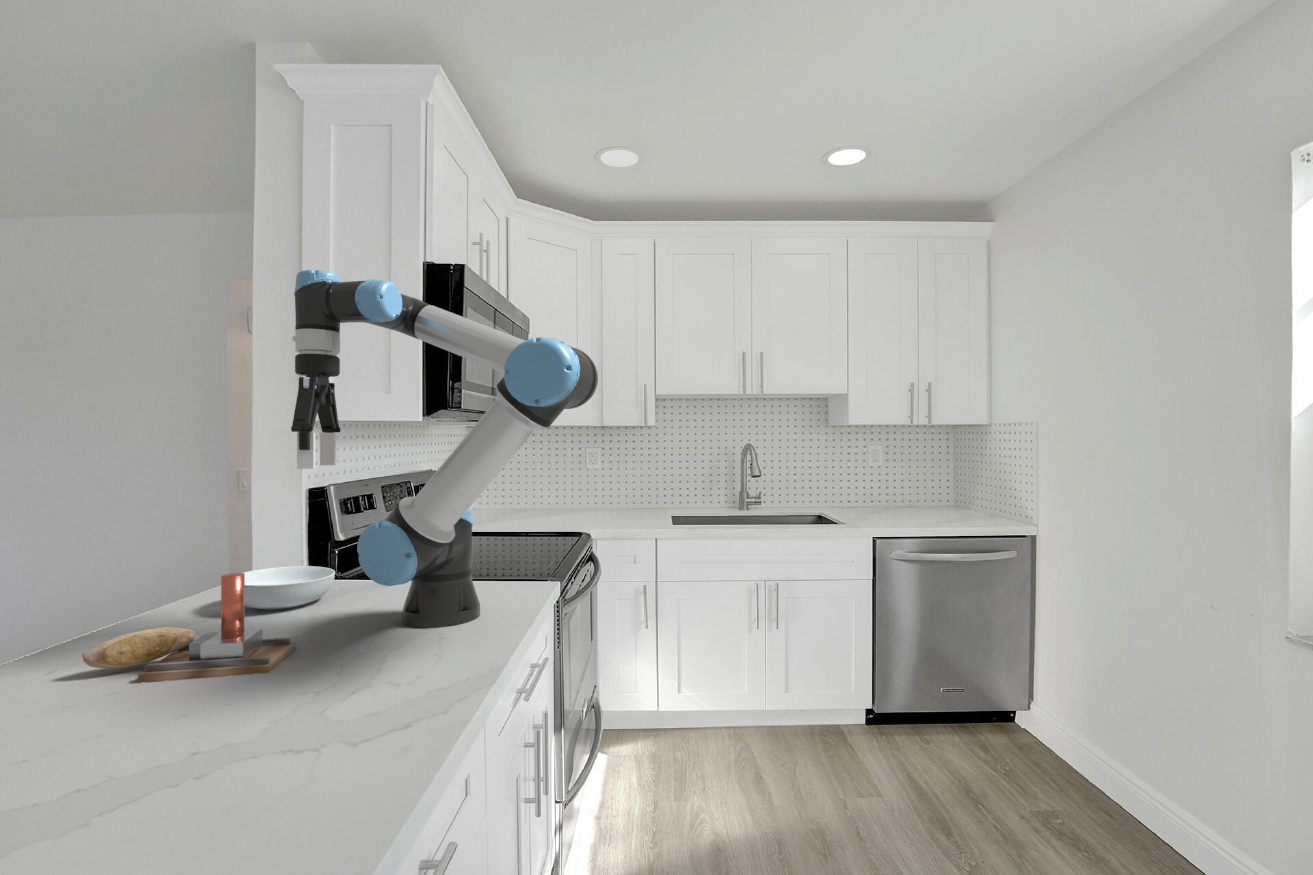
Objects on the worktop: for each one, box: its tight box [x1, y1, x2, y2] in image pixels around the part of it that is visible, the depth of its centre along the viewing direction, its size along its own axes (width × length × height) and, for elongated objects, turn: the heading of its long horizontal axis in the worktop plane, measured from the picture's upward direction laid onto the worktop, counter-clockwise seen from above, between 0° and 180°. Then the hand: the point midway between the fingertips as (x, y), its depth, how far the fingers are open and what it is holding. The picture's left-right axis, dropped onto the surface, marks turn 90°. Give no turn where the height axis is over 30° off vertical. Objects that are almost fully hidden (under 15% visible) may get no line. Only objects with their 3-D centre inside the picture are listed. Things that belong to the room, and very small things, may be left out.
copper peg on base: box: [189, 572, 263, 661], centre depth 105 cm, size 8×8×13 cm
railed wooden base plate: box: [137, 637, 296, 684], centre depth 105 cm, size 18×12×2 cm, turn 102°
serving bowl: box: [243, 565, 336, 611], centre depth 143 cm, size 21×21×7 cm
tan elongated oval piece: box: [81, 626, 197, 669], centre depth 104 cm, size 5×14×4 cm
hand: (317, 467), depth 122 cm, fingers open, 13 cm apart
